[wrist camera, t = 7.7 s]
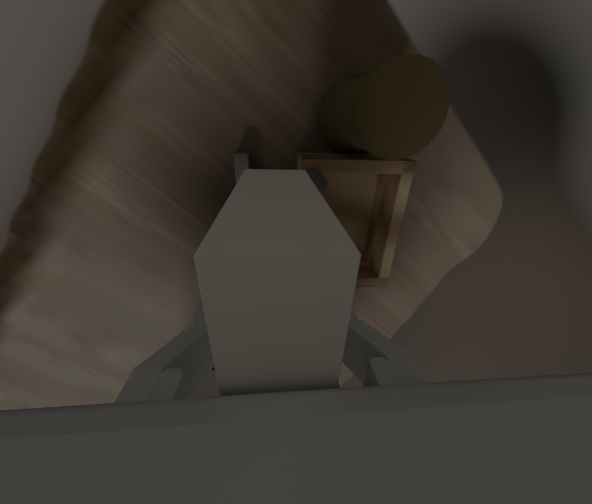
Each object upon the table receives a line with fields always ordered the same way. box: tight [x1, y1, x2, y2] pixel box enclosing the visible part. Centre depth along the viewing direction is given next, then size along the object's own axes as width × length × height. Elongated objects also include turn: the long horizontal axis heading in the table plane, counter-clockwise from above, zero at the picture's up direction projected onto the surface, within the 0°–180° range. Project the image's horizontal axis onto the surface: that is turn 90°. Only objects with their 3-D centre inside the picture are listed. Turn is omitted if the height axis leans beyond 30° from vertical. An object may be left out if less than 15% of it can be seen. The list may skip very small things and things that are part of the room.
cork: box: [320, 54, 450, 160], centre depth 17 cm, size 6×6×11 cm
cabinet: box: [233, 151, 416, 287], centre depth 23 cm, size 12×15×8 cm
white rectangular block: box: [193, 169, 361, 396], centre depth 11 cm, size 10×4×9 cm, turn 178°
